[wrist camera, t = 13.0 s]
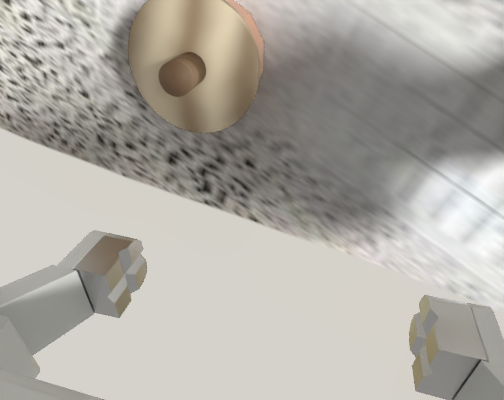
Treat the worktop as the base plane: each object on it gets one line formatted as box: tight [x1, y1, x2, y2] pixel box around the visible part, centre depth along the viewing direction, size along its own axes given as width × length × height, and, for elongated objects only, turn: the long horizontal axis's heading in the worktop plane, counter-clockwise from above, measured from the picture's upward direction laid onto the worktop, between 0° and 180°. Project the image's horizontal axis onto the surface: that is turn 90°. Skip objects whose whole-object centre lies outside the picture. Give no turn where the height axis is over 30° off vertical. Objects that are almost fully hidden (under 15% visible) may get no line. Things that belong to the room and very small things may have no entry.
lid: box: [128, 0, 261, 133], centre depth 34 cm, size 14×14×5 cm
